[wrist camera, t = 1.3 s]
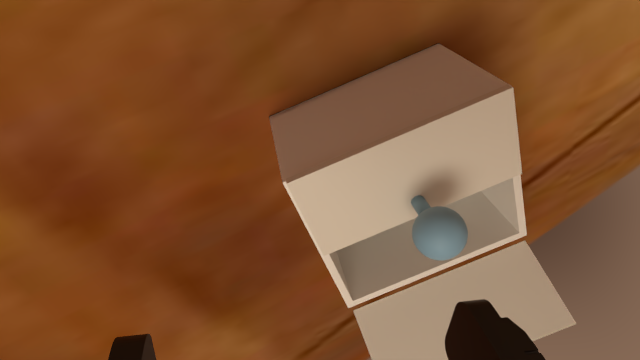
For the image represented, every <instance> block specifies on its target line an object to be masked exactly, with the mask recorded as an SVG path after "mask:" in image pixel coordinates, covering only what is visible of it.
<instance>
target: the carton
mask: <svg viewBox="0 0 640 360" xmlns="http://www.w3.org/2000/svg"><path fill="white" fill-rule="evenodd" d="M507 84H508V83H506V82H504V81H502V80H501V79H499V78H497V77H496V76H494V75H492V74H490V73H489V72H487V71H485V70H484V69H482V68H480V67H479V66H477V65H475V64H473V63H472V62H470V61H468V60H467V59H465V58H463V57H461V56H460V55H458V54H456V53H455V52H453V51H451V50H449V49H448V48H446V47H444V46H443V45H441V44H439V43H438V44H436V45H433V46H431V47H429V48H427V49H424V50H422V51H420V52H417V53H415V54H413V55H410V56H408V57H406V58H403V59H401V60H399V61H397V62H394V63H392V64H390V65H387V66H385V67H383V68H380V69H378V70H376V71H373V72H371V73H369V74H367V75H364V76H362V77H360V78H357V79H355V80H353V81H350V82H348V83H346V84H343V85H341V86H339V87H337V88H334V89H332V90H330V91H327V92H325V93H323V94H320V95H318V96H316V97H313V98H311V99H309V100H307V101H304V102H302V103H300V104H297V105H295V106H293V107H290V108H288V109H286V110H283V111H281V112H279V113H276V114H274V115H272V116H270V117H269V119H270V124H271V128H272V133H273V138H274V143H275V148H276V153H277V157H278V162H279V167H280V172H281V177H282V182H283V184H284V186H285V188H286V190H287V192H288V194H289V196H290V197H291V199H292V201H293V203H294V205H295V207H296V209H297V211H298V213H299V215H300V217H301V218H302V220H303V222H304V224H305V226H306V228H307V230H308V232H309V234H310V236H311V238H312V239H313V241H314V243H315V245H316V247H317V249H318V251H319V253H320V255H321V257H322V259H323V260H324V262H325V264H326V266H327V268H328V270H329V272H330V274H331V276H332V278H333V280H334V281H335V283H336V285H337V287H338V289H339V291H340V293H341V295H342V297H343V299H344V301H345V302H346V304H347V306H348V308H350V307H352V306H355V305H357V304H360V303H362V302H364V301H367V300H369V299H372V298H374V297H377V296H379V295H382V294H384V293H386V292H389V291H391V290H394V289H396V288H399V287H401V286H404V285H406V284H408V283H411V282H413V281H416V280H418V279H421V278H423V277H426V276H428V275H430V274H433V273H435V272H438V271H440V270H443V269H445V268H448V267H450V266H452V265H455V264H457V263H460V262H462V261H465V260H467V259H470V258H472V257H474V256H477V255H479V254H482V253H484V252H487V251H489V250H492V249H494V248H496V247H499V246H501V245H504V244H506V243H509V242H511V241H514V240H516V239H518V238H521V237H523V236H526V235H527V232H526V223H525V213H524V204H523V195H522V185H521V176H520V175H518V176H515V177H513V178H511V179H508V180H506V181H503V182H501V183H499V184H496V185H494V186H491V187H489V188H487V189H484V190H482V191H479V192H477V193H474V194H472V195H470V196H467V197H465V198H462V199H460V200H458V201H455V202H453V203H450V204H448V205H446V206H443V207H447V208H450V209H452V210H454V211H456V212H457V213H458V214H459V215H460V216H461V217H462V218H463V220H464V221H465V223H466V226H467V230H468V239H467V243H466V245H465V247H464V249H463V250H462V251H461V252H460V253H459V254H458V255H457V256H455V257H454V258H452V259H449V260H443V261H439V260H433V259H430V258H428V257H426V256H424V255H423V254H422V253H421V252H420V251H419V250H418V249H417V247H416V246H415V244H414V242H413V238H412V227H413V224H414V221H415V219H416V218H414V219H412V220H410V221H407V222H405V223H402V224H400V225H397V226H395V227H393V228H390V229H388V230H385V231H383V232H381V233H378V234H376V235H373V236H371V237H369V238H366V239H364V240H361V241H359V242H357V243H354V244H352V245H349V246H347V247H345V248H342V249H340V250H337V251H335V252H333V253H330V254H328V255H325V256H324V255H323V253H322V251H321V249H320V247H319V246H318V244H317V242H316V240H315V238H314V236H313V234H312V232H311V230H310V228H309V226H308V224H307V222H306V220H305V219H304V217H303V215H302V213H301V211H300V209H299V207H298V205H297V203H296V201H295V199H294V197H293V195H292V193H291V192H290V190H289V188H288V186H287V184H286V178H289V177H291V176H293V175H296V174H298V173H300V172H303V171H305V170H307V169H310V168H312V167H315V166H317V165H319V164H322V163H324V162H326V161H329V160H331V159H333V158H336V157H338V156H340V155H343V154H345V153H347V152H350V151H352V150H354V149H357V148H359V147H361V146H364V145H366V144H369V143H371V142H373V141H376V140H378V139H380V138H383V137H385V136H387V135H390V134H392V133H394V132H397V131H399V130H401V129H404V128H406V127H408V126H411V125H413V124H416V123H418V122H420V121H423V120H425V119H427V118H430V117H432V116H434V115H437V114H439V113H441V112H444V111H446V110H448V109H451V108H453V107H455V106H458V105H460V104H463V103H465V102H467V101H470V100H472V99H474V98H477V97H479V96H481V95H484V94H486V93H488V92H491V91H493V90H495V89H498V88H500V87H502V86H505V85H507ZM508 85H509V84H508ZM510 86H511V85H510Z"/></svg>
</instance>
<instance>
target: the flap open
mask: <svg viewBox="0 0 640 360" xmlns="http://www.w3.org/2000/svg"><path fill="white" fill-rule="evenodd" d="M480 299H485V300H488V301H489V302H490V303H491V304H492V305H493V307H494V308H495V310H496V311H497V313H498V314H499V316H500V317H501V318H504V317H508V318H509V319H510V320H512V321H513V322H514V323H515V324H516V325H518V326H519V327H520V328H521V329H523V330H524V331H525V332H526V333H527V335H528V336H529V338H530V339H531V340H532V341H534V340H537V339H539V338H542V337H545V336H547V335H549V334H552V333H555V332H557V331H559V330H562V329H565V328H567V327H570V326H572V325H574V324H576V322H575V321H574V319H573V317H572V316H571V314H570V313H569V311H568V310H567V308H566V306H565V304H564V303H563V301H562V299H561V298H560V296H559V295H558V293H557V291H556V290H555V288H554V287H553V285H552V283H551V282H550V280H549V278H548V277H547V275H546V274H545V272H544V270H543V269H542V267H541V265H540V264H539V262H538V261H537V259H536V257H535V256H534V254H533V252H532V251H531V249H530V248H529V246H528V244H527V243H526V241H523V242H520V243H518V244H515V245H513V246H510V247H508V248H506V249H503V250H501V251H498V252H496V253H493V254H491V255H488V256H486V257H483V258H481V259H479V260H476V261H474V262H471V263H469V264H466V265H464V266H461V267H459V268H457V269H454V270H452V271H449V272H447V273H444V274H442V275H439V276H437V277H435V278H432V279H430V280H427V281H425V282H422V283H420V284H417V285H415V286H412V287H410V288H408V289H405V290H403V291H400V292H398V293H395V294H393V295H390V296H388V297H386V298H383V299H381V300H378V301H376V302H373V303H371V304H368V305H366V306H364V307H361V308H359V309H356V310H354V314H355V316H356V319H357V322H358V324H359V327H360V329H361V332H362V335H363V337H364V340H365V343H366V345H367V348H368V351H369V353H370V356H371V358H372V360H448V357H447V354H446V350H445V336H446V333H447V330H448V327H449V324H450V321H451V318H452V315H453V312H454V309H455V306H456V304H457V303H458V302H462V301H471V300H480Z"/></svg>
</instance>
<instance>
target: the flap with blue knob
mask: <svg viewBox="0 0 640 360" xmlns="http://www.w3.org/2000/svg"><path fill="white" fill-rule="evenodd" d="M520 174H522V168H521V158H520V148H519V139H518V129H517V119H516V110H515V100H514V90H513V87H512V86H510V85H508V84H507V85H505V86H502V87H500V88H498V89H495V90H493V91H491V92H488V93H486V94H484V95H481V96H479V97H477V98H474V99H472V100H470V101H467V102H465V103H463V104H460V105H458V106H455V107H453V108H451V109H448V110H446V111H444V112H441V113H439V114H437V115H434V116H432V117H430V118H427V119H425V120H423V121H420V122H418V123H416V124H413V125H411V126H408V127H406V128H404V129H401V130H399V131H397V132H394V133H392V134H390V135H387V136H385V137H383V138H380V139H378V140H376V141H373V142H371V143H369V144H366V145H364V146H361V147H359V148H357V149H354V150H352V151H350V152H347V153H345V154H343V155H340V156H338V157H336V158H333V159H331V160H329V161H326V162H324V163H322V164H319V165H317V166H315V167H312V168H310V169H307V170H305V171H303V172H300V173H298V174H296V175H293V176H291V177H289V178H286V184H287V186H288V188H289V190H290V192H291V193H292V195H293V197H294V199H295V201H296V203H297V205H298V207H299V209H300V211H301V213H302V215H303V217H304V219H305V220H306V222H307V224H308V226H309V228H310V230H311V232H312V234H313V236H314V238H315V240H316V242H317V244H318V246H319V247H320V249H321V251H322V253H323V255H324V256H325V255H328V254H330V253H333V252H335V251H337V250H340V249H342V248H345V247H347V246H349V245H352V244H354V243H357V242H359V241H361V240H364V239H366V238H369V237H371V236H373V235H376V234H378V233H381V232H383V231H385V230H388V229H390V228H393V227H395V226H397V225H400V224H402V223H405V222H407V221H410V220H412V219H414V218H416V219H415V221H414V224H413V227H412V238H413V242H414V244H415V246H416V247H417V249H418V250H419V251H420V252H421V253H422V254H423V255H424V256H426V257H428V258H430V259H433V260H439V261H443V260H449V259H452V258H454V257H455V256H457V255H458V254H459V253H460V252H461V251H462V250H463V249H464V247H465V245H466V243H467V239H468V230H467V226H466V223H465V221H464V220H463V218H462V217H461V216H460V215H459V214H458V213H457V212H456V211H454V210H452V209H450V208H447V207H443V206H446V205H448V204H450V203H453V202H455V201H458V200H460V199H462V198H465V197H467V196H470V195H472V194H474V193H477V192H479V191H482V190H484V189H487V188H489V187H491V186H494V185H496V184H499V183H501V182H503V181H506V180H508V179H511V178H513V177H515V176H518V175H520Z"/></svg>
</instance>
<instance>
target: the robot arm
mask: <svg viewBox="0 0 640 360" xmlns="http://www.w3.org/2000/svg"><path fill="white" fill-rule="evenodd" d="M445 350H446V354H447V357H448V360H545V358H544V357H543V355H542V354H541V353H539V352H538V349H537V347H536V346H535V344H534V343H533V342H532V340H531V339H530V338H529V336H528V335H527V333H526V332H525V331H524V330H523V329H521V328H520V327H519V326H518V325H516V324H515V323H514V322H513V321H512V320H510V319H509V318H508V317H504V318H501V317H500V316H499V314H498V313H497V311H496V310H495V308H494V307H493V305H492V304H491V303H490V302H489V301H488V300H485V299H480V300H471V301H462V302H458V303H457V304H456V306H455V309H454V312H453V315H452V318H451V321H450V324H449V327H448V330H447V333H446V336H445ZM108 360H156V357H155V352H154V348H153V343H152V339H151V336H150V334H143V335H134V336H124V337H117V338H115V340H114V342H113V344H112V348H111V351H110V355H109V359H108Z"/></svg>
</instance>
